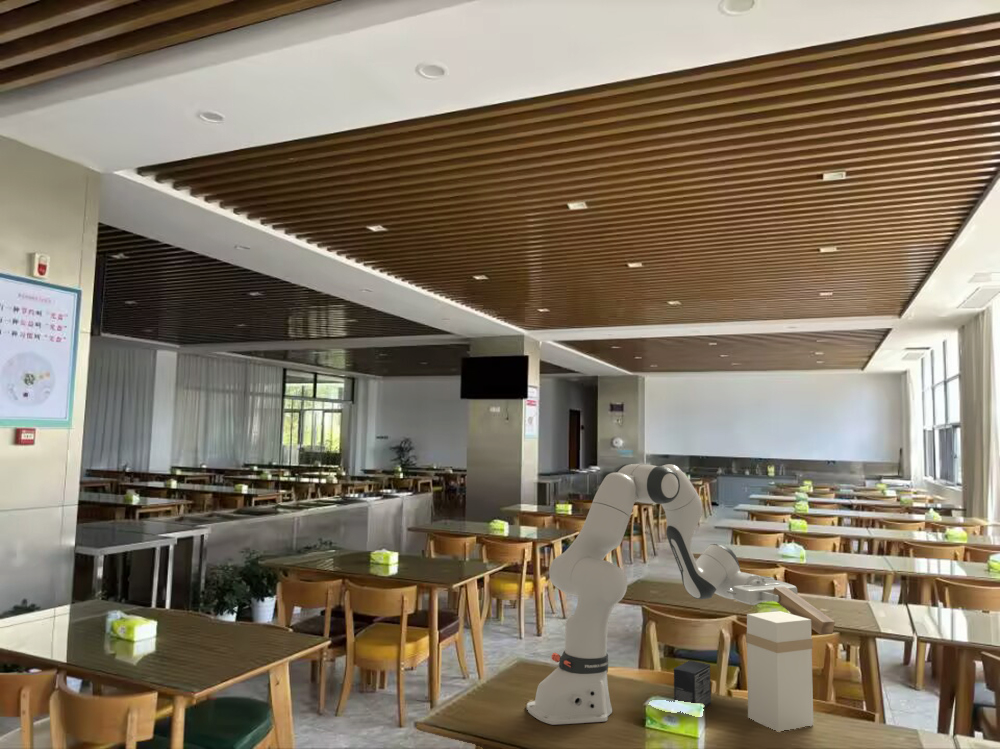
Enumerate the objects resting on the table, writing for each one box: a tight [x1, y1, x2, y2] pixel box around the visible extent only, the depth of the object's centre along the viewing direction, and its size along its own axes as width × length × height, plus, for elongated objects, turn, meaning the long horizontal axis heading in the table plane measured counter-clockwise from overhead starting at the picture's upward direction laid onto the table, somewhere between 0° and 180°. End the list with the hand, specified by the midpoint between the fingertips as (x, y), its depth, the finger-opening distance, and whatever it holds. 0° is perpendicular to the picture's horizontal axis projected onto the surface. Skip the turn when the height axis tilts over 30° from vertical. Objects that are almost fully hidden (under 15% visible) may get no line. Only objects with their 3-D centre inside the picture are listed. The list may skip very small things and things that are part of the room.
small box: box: [673, 660, 712, 708], centre depth 186 cm, size 11×6×10 cm, turn 141°
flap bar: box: [773, 587, 836, 636], centre depth 188 cm, size 4×19×4 cm, turn 18°
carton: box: [745, 610, 814, 733], centre depth 177 cm, size 12×10×26 cm
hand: (786, 598), depth 194 cm, fingers closed on flap bar, 4 cm apart
